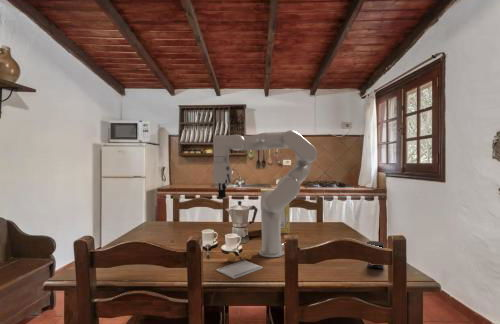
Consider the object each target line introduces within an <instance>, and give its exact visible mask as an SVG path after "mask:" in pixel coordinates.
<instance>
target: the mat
mask: <svg viewBox="0 0 500 324" xmlns="http://www.w3.org/2000/svg"><path fill="white" fill-rule="evenodd" d="M263 268H264V267H263V266H261V265H258V264H256V263H253V262H251V261H249V260H246V259H245V260H241V261H238V262H235V263H232V264H229V265H225V266H223V267H219V268H216V271H217V272H219V273H221V274H223V275H225V276H227V277H230V278H232V279H234V280H235V279H238V278H240V277H244V276H246V275H248V274H252V273H254V272H258V271H259V270H263Z"/></svg>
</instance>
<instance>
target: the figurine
mask: <svg viewBox="0 0 500 324" xmlns="http://www.w3.org/2000/svg"><path fill="white" fill-rule="evenodd" d="M252 257H253V253H252V252H251V253H249V254H246V255H243V254H241V253H240V254H239V255H236V254H235V253H234V252H229V253H228V254H227V255H226V258H227V259H226V260H227V261H228V262H233V261H235V260H236V259H240V258H243V259H245V260H246V261H250V260H251V261H252Z"/></svg>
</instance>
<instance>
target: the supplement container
mask: <svg viewBox="0 0 500 324" xmlns="http://www.w3.org/2000/svg"><path fill="white" fill-rule="evenodd" d="M367 244H371V245H375V246H379V247H382V248H384V249H385V245H384V242H382V241H375V240H369V241H366V245H367ZM366 265H367V267H368V268H369V269H372V270H383V269H384V267H385V264H384V265H372V264H369V263H366Z"/></svg>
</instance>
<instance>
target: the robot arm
mask: <svg viewBox="0 0 500 324" xmlns="http://www.w3.org/2000/svg"><path fill="white" fill-rule="evenodd" d="M282 149H283V150H284V149H285V150H287V149H290V150H291V151H292V152H293V153H295V154H294V156H295V164H294V165H293V167H292V168H291V169H290V170H289V171H288V172H287V173H285V175H283V176H282V177H281V178H280V179H279V180H278V181H277V183H276V187H275V188H274V189H275V190H274V191H266V192H265V193H264V194H263V195H262V197H261V196H260V216H261V215H262V229H261V249H259V251H258V254H259V256H261V257H263V258H264V257H265V258H280V257H282V256H284V255H285V251H284V250H283V248H285V247H284V243H285V242H284V243H281V242H282V241H281V239H282V237H281V235H282V233H281V224H280V223H281V219H280V211H281V210H282V209H283V208H284V207H286V206H287V205H288V204H289V205H290V203H291V202H292V201H293V200H294V199H295V198H296V197H297V196H298V195H299V193H300V192H301V184H302V183H303V182H304V181H305V180H306V179H307V178H308V177H309V175H310V172H311V169H312V163H313V162H315V161H316V160H317V158H318V150H317V148H316V147H315V145H313V144H312V143H310V142H309V141H308V139H306V138H305V137H303V136H302V135H301V134H300V133H299V132H297V131H295V130H293V129H290V130H287V131H277V132H262V133H258V134H254V135H243V136H242V135H240V134H230V135H225V134H220V135H219V134H218V135H215V136H213V168H212V180H213V183H214V186H216V187H217V190H218V191H217V192H218V195H217V196H218V198H219V199H223V198H224V199H225V198H226V195H227V194H226V189H227V187H229V186H230V184H232V182H233V181H232V180H233V178H232V176H233V175H232V167H231V163H230V150H232V151H256V150H257V151H264V150H265V151H266V150H267V151H268V150H282Z"/></svg>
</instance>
